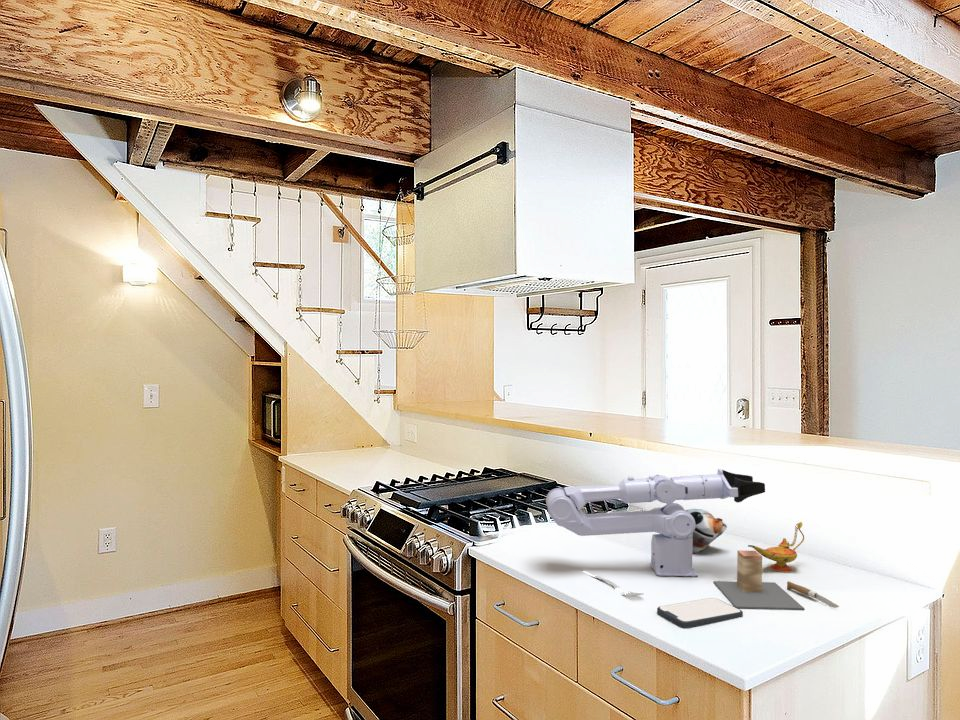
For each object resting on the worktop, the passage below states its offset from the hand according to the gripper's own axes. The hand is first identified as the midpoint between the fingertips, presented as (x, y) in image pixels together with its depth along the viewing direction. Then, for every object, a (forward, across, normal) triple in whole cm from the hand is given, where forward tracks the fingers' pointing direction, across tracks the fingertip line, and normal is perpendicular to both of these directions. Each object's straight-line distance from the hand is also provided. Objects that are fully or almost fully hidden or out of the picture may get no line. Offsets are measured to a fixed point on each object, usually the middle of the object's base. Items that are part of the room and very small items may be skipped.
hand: (758, 484), depth 161 cm
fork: (-39, -9, +19) cm, 45 cm away
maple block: (-8, -12, +20) cm, 25 cm away
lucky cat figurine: (-12, +19, +21) cm, 31 cm away
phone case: (-23, -26, +20) cm, 40 cm away
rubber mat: (-7, -15, +21) cm, 27 cm away
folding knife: (+4, -17, +22) cm, 28 cm away
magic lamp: (+4, +3, +22) cm, 23 cm away
